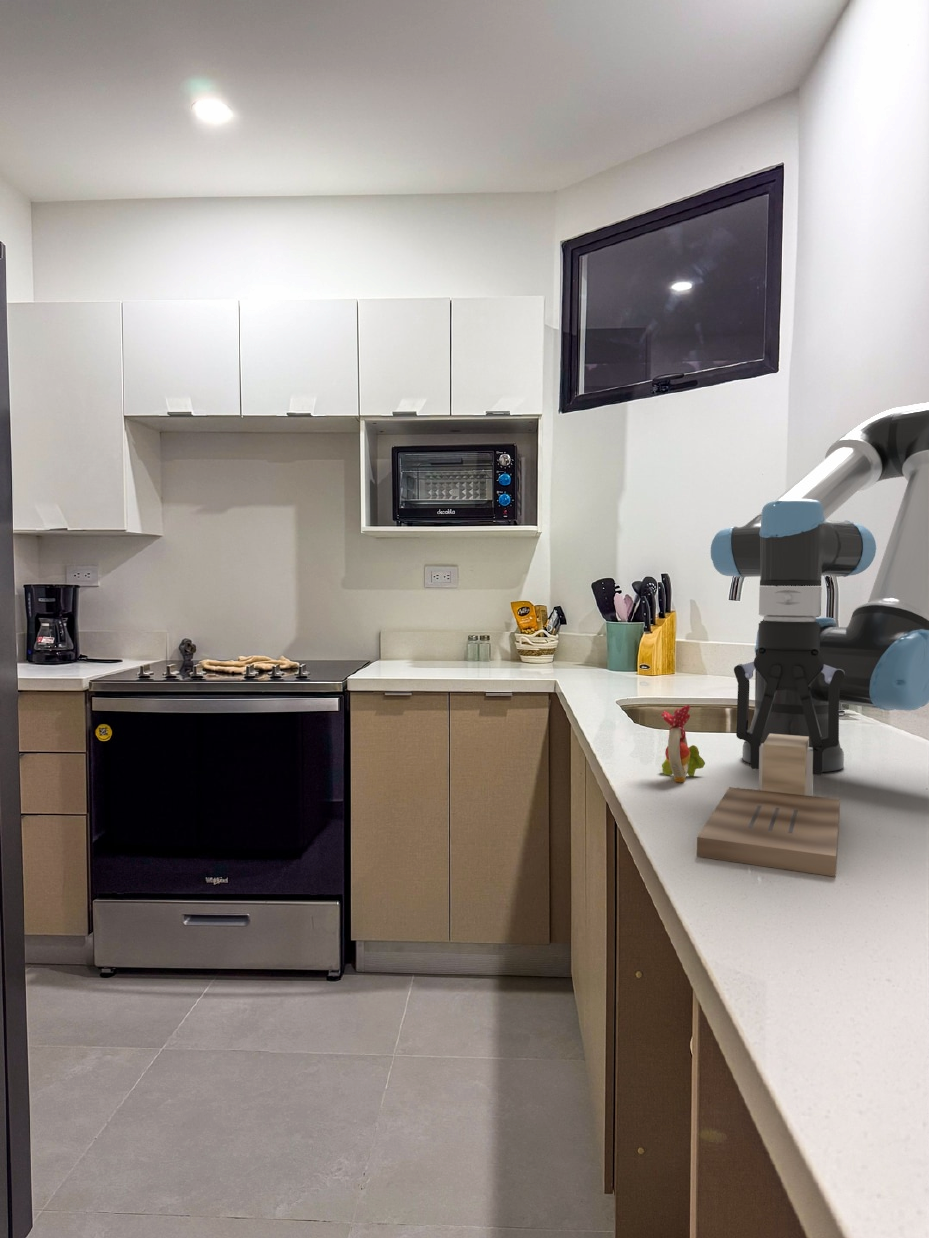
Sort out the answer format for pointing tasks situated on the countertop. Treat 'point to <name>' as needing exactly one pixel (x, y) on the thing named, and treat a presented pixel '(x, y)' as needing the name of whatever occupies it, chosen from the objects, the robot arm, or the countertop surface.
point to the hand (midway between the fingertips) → (785, 795)
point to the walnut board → (773, 831)
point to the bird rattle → (680, 748)
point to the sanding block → (785, 764)
